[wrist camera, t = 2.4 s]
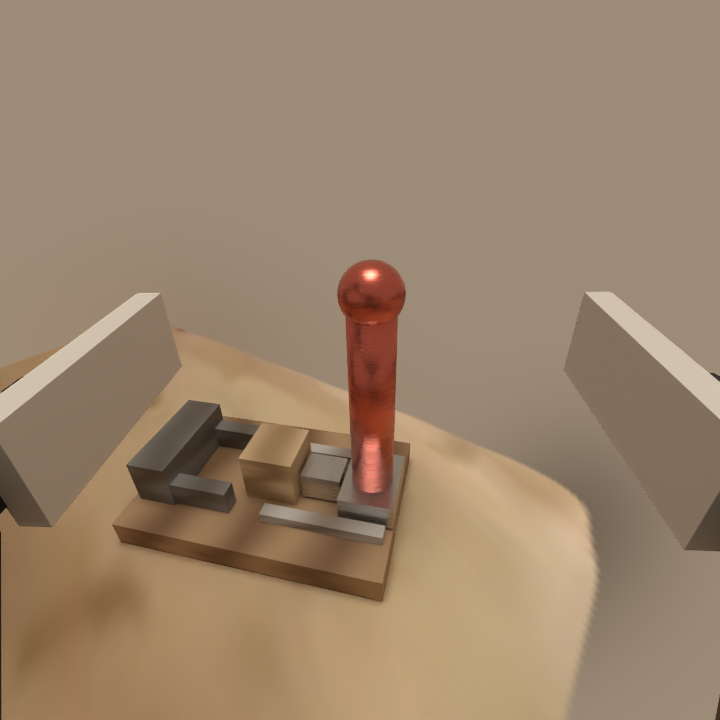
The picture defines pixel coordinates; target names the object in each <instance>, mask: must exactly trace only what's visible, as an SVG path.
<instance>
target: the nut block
mask: <svg viewBox="0 0 720 720" xmlns="http://www.w3.org/2000/svg"><path fill="white" fill-rule="evenodd" d="M311 453H312V452H311V443H310V434H309V430H305V429H298V428H291V427H284V426H278V425H271V424H264V423H262V424H261V425H260V427H259V428H258V430H257V431H256V433H255V434H254V436H253V437H252V439H251V440H250V442H249V443H248V445H247V446H246V448H245V449H244V451H243V452H242V454H241V455H240V457H239V458H238V459H239V463H240V468H241V472H242V476H243V480H244V484H245V489H246V493H247V496H249V497H255V498H260V499H265V500H271V501H276V502H281V503H287V504H292V505H296V504H297V502H298V499H299V497H300V495H301V493H302V485H301V477H300V475H301V473H302V471H303V469H304V467H305V464H306V462H307V460H308V458H309V456H310V454H311Z"/></svg>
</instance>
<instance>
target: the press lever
mask: <svg viewBox="0 0 720 720" xmlns="http://www.w3.org/2000/svg"><path fill="white" fill-rule="evenodd" d="M337 292H338V294H337V296H338V303H339V306H340V308H341V311H342V312H343V314H344V315H345V317H346V339H347V364H348V388H349V412H350V435H351V461H350V464H349V467H348V459H346V458H340V457H334V456H328V455H321V454H315V453H311V454H310V456H309V458H308V460H307V462H306V464H305V467H304V469H303V471H302V473H301V475H300V477H301V485H302V492H303V496H307V497H312V498H318V499H323V500H329V501H334V502H337V510H338V517H342V518H347V519H352V520H357V521H363V522H368V523H373V524H378V525H384V526H385V528H390V529H393V526H394V521H395V516H396V511H397V506H398V501H399V496H400V491H401V485H402V480H403V475H404V457H405V456H400V455H394V426H395V391H396V359H397V357H396V356H397V325H398V315H399V314H400V312H401V310H402V308H403V306H404V302H405V296H406V291H405V285H404V282H403V280H402V278H401V276H400V274H399V273H398V272H397V271H396V270H395V269H394V268H393V267H392V266H391V265H389V264H387V263H385V262H383V261H380V260H364V261H361V262H358V263H356V264H355V265H353V266H351V267H350V268H349V269H348V270H347V271H346V272H345V273H344V275H343V276H342V278H341V280H340V283H339V286H338V291H337Z"/></svg>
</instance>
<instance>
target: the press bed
mask: <svg viewBox="0 0 720 720" xmlns="http://www.w3.org/2000/svg"><path fill="white" fill-rule="evenodd" d="M262 423H264V424H271V425H278V426H284V427H291V428H298V429H305V430H309V434H310V443H311V452H312V453H315V454H321V455H328V456H334V457H340V458H346V459H348V467H349V464H350V461H351V435H349V434H342V433H335V432H328V431H322V430H315V429H308V428H301V427H294V426H287V425H281V424H274V423H267V422H260V421H253V420H247V419H240V418H233V417H226V416H222V413H221V409H220V404H213V403H206V402H199V401H192V400H189V401H188V402H187V403H186V404H185V405H184V406H183V407H182V408H181V409H180V410H179V411H178V412H177V413H176V414H175V415H174V416H173V417H172V418H171V419H170V420H169V421H168V422H167V423H166V424H165V425H164V426H163V427H162V429H161V430H160V431H159V432H158V433H157V434H156V435H155V436H154V437H153V438H152V439H151V440H150V441H149V442H148V443H147V444H146V445H145V446H144V447H143V448H142V449H141V450H140V451H139V452H138V453H137V454H136V455H135V456H134V457H133V459H132V460H131V461H130V462H129V463H128V464H127V468H128V470H129V472H130V475H131V477H132V479H133V482H134V484H135V486H136V488H137V491H138V493H139V494H138V495H137V496H136V497H135V498H134V499H133V501H132V502H131V503H130V504H129V505H128V506H127V507H126V509H125V510H124V511H123V512H122V513H121V514H120V516H119V517H118V518H117V519H116V520H115V521H114V523H113V524H112V525H113V527H114V529H115V531H116V533H117V535H118V537H119V539H120V541H121V542H125V543H129V544H134V545H138V546H142V547H147V548H151V549H156V550H160V551H164V552H169V553H173V554H177V555H182V556H186V557H191V558H195V559H199V560H204V561H208V562H212V563H217V564H221V565H226V566H230V567H234V568H239V569H243V570H247V571H252V572H256V573H261V574H265V575H269V576H274V577H278V578H282V579H287V580H291V581H295V582H300V583H304V584H309V585H313V586H317V587H322V588H326V589H330V590H335V591H339V592H344V593H348V594H352V595H357V596H361V597H365V598H370V599H374V600H379V601H382V600H383V595H384V589H385V584H386V579H387V574H388V568H389V563H390V558H391V553H392V547H393V542H394V537H395V531H396V526H397V521H398V516H399V510H400V505H401V500H402V494H403V489H404V484H405V479H406V473H407V468H408V463H409V452H410V443H404V442H397V441H394V455H400V456H405V457H404V475H403V480H402V485H401V491H400V496H399V501H398V506H397V511H396V516H395V521H394V526H393V529H390V528H385V526H384V525H378V524H373V523H368V522H363V521H357V520H352V519H347V518H342V517H338V510H337V502H334V501H329V500H323V499H318V498H312V497H307V496H303V492H302V493H301V495H300V497H299V499H298V502H297V504H296V505H292V504H287V503H281V502H276V501H271V500H265V499H260V498H255V497H249V496H247V493H246V489H245V484H244V480H243V476H242V472H241V468H240V463H239V459H238V458H239V457H240V455H241V454H242V452H243V451H244V449H245V448H246V446H247V445H248V443H249V442H250V440H251V439H252V437H253V436H254V434H255V433H256V431H257V430H258V428H259V427H260V425H261V424H262Z"/></svg>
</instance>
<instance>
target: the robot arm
mask: <svg viewBox="0 0 720 720" xmlns="http://www.w3.org/2000/svg"><path fill="white" fill-rule="evenodd" d="M181 367H182V365H181V361H180V358H179V354H178V351H177V347H176V344H175V341H174V337H173V334H172V330H171V327H170V323H169V320H168V317H167V313H166V310H165V306H164V303H163V299H162V296H161V293H137V294H136V295H134V296H133V297H132V298H130V299H129V300H128V301H126V302H125V303H124V304H122V305H121V306H119V307H118V308H117V309H115V310H114V311H113V312H111V313H110V314H109V315H107V316H106V317H104V318H103V319H102V320H100V321H99V322H98V323H96V324H95V325H94V326H92V327H91V328H89V329H88V330H87V331H85V332H84V333H83V334H81V335H80V336H78V337H77V338H76V339H74V340H73V341H72V342H70V343H69V344H68V345H66V346H65V347H63V348H62V349H61V350H59V351H58V352H57V353H55V354H54V355H53V356H51V357H50V358H48V359H47V360H46V361H44V362H43V363H42V364H40V365H39V366H38V367H36V368H35V369H33V370H32V371H31V372H29V373H28V374H27V375H25V376H23V377H21V378H19V379H18V380H16V381H15V382H14V383H12V384H11V385H10V386H8V387H7V388H5V389H4V390H3V391H2V393H1V394H0V514H1V513H2V511H3V510H4V509H5V508H7V509H8V511H9V512H10V513H11V515H12V516H13V518H14V519H15V521H16V522H17V524H18V525H19V526H31V527H53V526H54V525H55V523H56V522H57V521H58V520H59V518H60V517H61V516H62V515H63V513H64V512H65V511H66V510H67V508H68V507H69V506H70V505H71V504H72V502H73V501H74V500H75V499H76V497H77V496H78V495H79V494H80V492H81V491H82V490H83V489H84V487H85V486H86V485H87V484H88V482H89V481H90V480H91V479H92V477H93V476H94V475H95V474H96V472H97V471H98V470H99V469H100V467H101V466H102V465H103V464H104V462H105V461H106V460H107V459H108V458H109V456H110V455H111V454H112V453H113V451H114V450H115V449H116V448H117V446H118V445H119V444H120V443H121V441H122V440H123V439H124V438H125V436H126V435H127V434H128V433H129V431H130V430H131V429H132V428H133V426H134V425H135V424H136V423H137V421H138V420H139V419H140V418H141V416H142V415H143V414H144V413H145V412H146V410H147V409H148V408H149V407H150V405H151V404H152V403H153V402H154V400H155V399H156V398H157V397H158V395H159V394H160V393H161V392H162V390H163V389H164V388H165V387H166V385H167V384H168V383H169V382H170V380H171V379H172V378H173V377H174V375H175V374H176V373H177V372H178V370H179V369H180V368H181ZM564 371H565V373H566V374H567V376H568V377H569V379H570V380H571V382H572V383H573V384H574V386H575V388H576V389H577V390H578V392H579V393H580V395H581V396H582V398H583V399H584V401H585V402H586V404H587V405H588V407H589V409H590V410H591V412H592V413H593V414H594V416H595V417H596V419H597V420H598V422H599V423H600V425H601V426H602V428H603V429H604V431H605V432H606V434H607V435H608V437H609V438H610V440H611V441H612V443H613V444H614V446H615V447H616V449H617V450H618V452H619V453H620V455H621V456H622V458H623V459H624V461H625V462H626V464H627V465H628V467H629V468H630V470H631V471H632V473H633V474H634V476H635V477H636V479H637V480H638V482H639V483H640V485H641V486H642V488H643V489H644V491H645V492H646V494H647V495H648V497H649V498H650V500H651V501H652V503H653V504H654V506H655V507H656V509H657V510H658V512H659V513H660V515H661V516H662V518H663V519H664V521H665V522H666V524H667V525H668V527H669V528H670V530H671V531H672V533H673V534H674V536H675V537H676V539H677V540H678V542H679V543H680V545H681V546H682V548H683V549H684V550H700V551H720V376H718V375H716V374H714V373H708V372H707V371H706V370H705V369H703V368H702V367H701V366H700V365H699V364H697V363H696V362H695V361H694V360H692V359H691V358H690V357H689V356H688V355H686V354H685V353H684V352H683V351H682V350H680V349H679V348H678V347H677V346H676V345H674V344H673V343H672V342H671V341H670V340H668V339H667V338H666V337H665V336H663V335H662V334H661V333H660V332H659V331H657V330H656V329H655V328H654V327H653V326H651V325H650V324H649V323H648V322H647V321H645V320H644V319H643V318H642V317H641V316H639V315H638V314H637V313H636V312H635V311H633V310H632V309H631V308H630V307H628V306H627V305H626V304H625V303H624V302H622V301H621V300H620V299H619V298H618V297H616V296H615V295H614V294H613V293H612V292H584V295H583V299H582V303H581V306H580V311H579V314H578V318H577V321H576V325H575V329H574V333H573V336H572V340H571V344H570V348H569V351H568V355H567V359H566V363H565V366H564ZM0 720H1V532H0ZM715 720H720V697H719V703H718V708H717V714H716V719H715Z"/></svg>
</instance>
